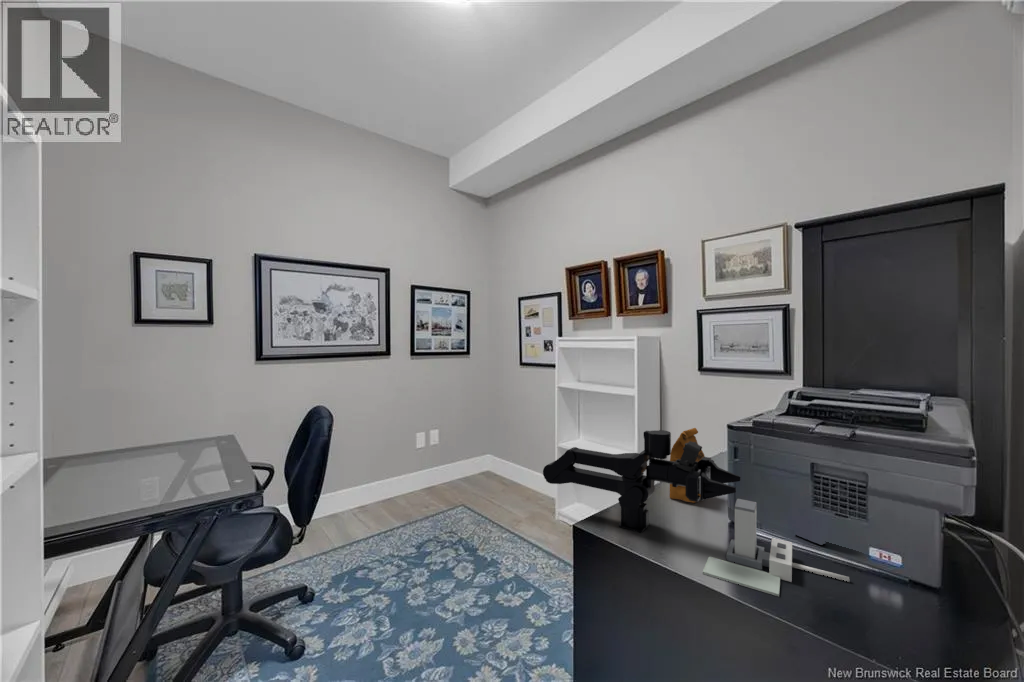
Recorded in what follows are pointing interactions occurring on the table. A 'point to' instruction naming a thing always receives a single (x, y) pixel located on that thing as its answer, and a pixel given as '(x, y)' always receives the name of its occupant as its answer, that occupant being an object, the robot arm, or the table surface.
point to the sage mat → (743, 576)
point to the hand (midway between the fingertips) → (738, 484)
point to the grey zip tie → (776, 560)
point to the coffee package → (676, 454)
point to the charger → (746, 528)
